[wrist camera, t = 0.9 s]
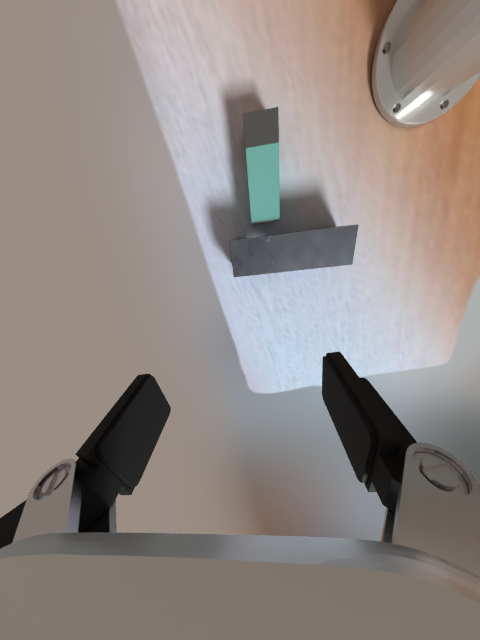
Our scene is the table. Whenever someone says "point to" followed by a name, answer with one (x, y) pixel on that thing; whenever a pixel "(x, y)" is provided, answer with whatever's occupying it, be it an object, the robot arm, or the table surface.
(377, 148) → the table surface
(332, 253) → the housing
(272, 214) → the plug
